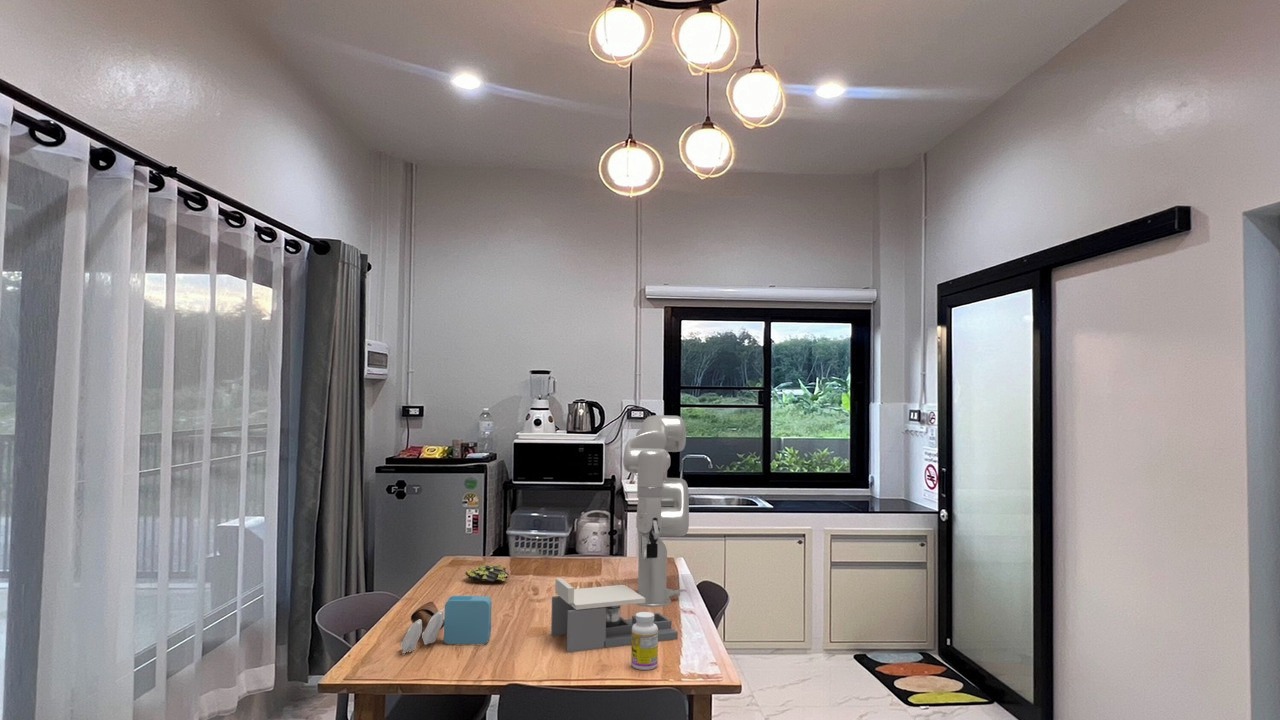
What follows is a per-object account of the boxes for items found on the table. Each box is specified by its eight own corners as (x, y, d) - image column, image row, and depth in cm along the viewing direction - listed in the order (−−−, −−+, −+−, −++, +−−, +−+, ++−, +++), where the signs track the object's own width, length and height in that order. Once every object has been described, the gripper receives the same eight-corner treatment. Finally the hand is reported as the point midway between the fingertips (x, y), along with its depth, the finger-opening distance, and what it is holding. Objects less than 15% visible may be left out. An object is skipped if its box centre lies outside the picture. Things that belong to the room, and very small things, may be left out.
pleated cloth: (475, 573, 287) (480, 556, 288) (515, 584, 285) (520, 567, 286) (459, 576, 268) (465, 558, 269) (502, 588, 265) (507, 570, 267)
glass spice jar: (616, 626, 212) (617, 600, 212) (622, 631, 208) (622, 604, 208) (602, 628, 210) (602, 601, 211) (607, 633, 206) (608, 605, 207)
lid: (623, 588, 220) (624, 570, 220) (645, 602, 205) (645, 583, 205) (553, 595, 211) (553, 576, 211) (570, 610, 196) (570, 590, 197)
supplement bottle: (630, 661, 190) (630, 610, 191) (656, 661, 190) (656, 610, 191) (632, 671, 183) (632, 618, 184) (658, 670, 184) (659, 618, 184)
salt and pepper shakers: (430, 631, 204) (448, 602, 201) (438, 643, 202) (456, 613, 199) (395, 643, 194) (413, 612, 191) (403, 655, 192) (422, 624, 189)
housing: (654, 623, 223) (654, 586, 223) (677, 639, 208) (678, 600, 209) (551, 634, 210) (551, 596, 211) (568, 652, 196) (568, 611, 196)
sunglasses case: (435, 635, 202) (437, 609, 203) (409, 635, 201) (411, 609, 202) (445, 624, 219) (447, 600, 221) (421, 624, 219) (423, 600, 220)
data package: (490, 639, 206) (491, 595, 206) (488, 645, 201) (489, 600, 202) (446, 640, 205) (448, 595, 206) (443, 645, 200) (444, 600, 201)
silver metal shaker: (639, 557, 218) (640, 531, 218) (654, 556, 219) (654, 530, 220) (644, 559, 214) (644, 533, 214) (658, 559, 215) (659, 532, 215)
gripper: (629, 490, 225) (628, 551, 223) (646, 496, 209) (645, 562, 207) (653, 489, 227) (652, 550, 225) (671, 495, 211) (671, 561, 209)
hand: (649, 555), depth 216 cm, fingers closed on silver metal shaker, 4 cm apart
